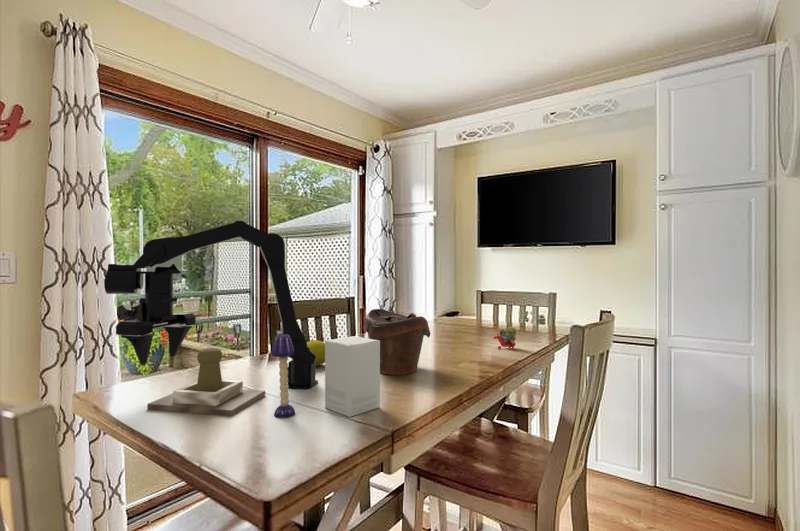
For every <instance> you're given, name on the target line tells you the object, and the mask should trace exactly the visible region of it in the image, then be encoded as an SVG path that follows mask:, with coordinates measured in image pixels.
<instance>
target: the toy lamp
mask: <svg viewBox="0 0 800 531" xmlns="http://www.w3.org/2000/svg"><path fill="white" fill-rule="evenodd" d="M271 348H272V349H271V352H270V353H271V356H272V357H276V358H278V361H279V364H278V368H279V371H278V372H279V383H280V385H279V390H280V393H279V397H280V401H279V403H280V405H279V406H277V407H276V409H275V410H274V417H276V418H280V419H281V418H283V419H284V418H290V417H292V416H294V415H295V414H296V409H295V407H294V406H293V405H291V404H290V400H289V396H290V393H289V386H288V377H287V376H288V370H287V368H288V360H289V357H288V356H290V355H293V354H294V348H293V345H292V341H291V338H290V336H289V335H288V334H281V335H277V334H276V335H275V337H274V340H273V345H272V347H271Z"/></svg>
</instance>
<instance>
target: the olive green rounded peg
mask: <svg viewBox="0 0 800 531" xmlns="http://www.w3.org/2000/svg"><path fill="white" fill-rule="evenodd" d="M196 357H197V362H198V363H199V369H198V375H197V376H198V377H197V381H198V382H197V381H196V382H197V389H196V391H204V392H216V391H218V390H220V389H222V388H223V385H222V380H223V378H222V371H221V364H220V363H221V361H222V358H223V352H222V350H221V349H219V348H217V347H207V348H203V349H201V350H198V353H197V356H196Z"/></svg>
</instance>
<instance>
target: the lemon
mask: <svg viewBox="0 0 800 531" xmlns="http://www.w3.org/2000/svg"><path fill="white" fill-rule="evenodd" d="M306 343H307V347H308V348H309V349H310V350H311V351H312V352H313V353H314V355H315V356H316V358H315V361H316V367H319V366H322V365H323V364H325V341H321V340H317V339H314V340H310V341H306Z"/></svg>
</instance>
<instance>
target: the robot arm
mask: <svg viewBox="0 0 800 531" xmlns="http://www.w3.org/2000/svg"><path fill="white" fill-rule="evenodd" d="M234 239H242V240H243V241H246V242H247V243H250V244H251V245H253V246H255V247H258V248H259V250H260V252H261V254H262V255H261V256H262V257H263V259H264V261H265V264H266V265H267V268H268V270H269V273H270V277H271V282H272V286H273V290H274V295H275V301H276V304H277V310H278V313H279V317H280V318H279V319H280V322H281V323H280V324H281V326H280V327H281V329H280V330H276V336H277V335H281V334H288V335H289V336H290V338H291V341H292V345H293V348H294V354H293V355H290V356H288V358H290V359H291V360H290V361H287V363H288V368H287V370H288V376H287V377H288V383H287V384H288V386H289V388H291V389H292V388H293V389H307V390H309V389H311V388H312V387H314V386H315V385H316V384H317V383H319V380H318V379H317V380H316V367H317V366H316V361H315V358H316V356H315V355H314V353H313V352H312V351H311V350H310V349H309V348H308V347H307V341H306V339H305V335H304V334H303V332H302V329H301V327H300V324H299V323H298V321H297V317H296V312H295V307H294V302H293V298H292V295H291V290H290V289H291V288H290V285H289V282H288V276H287V272H286V246H285V244H286V243H285V240H284V239H283V237H282V236H281V235H279V234H277V233H275V232H273V233H272V232H270V233H267V232H265V231H263V230H261V229H259V228H257V227H254V226H252V225H250V224H248V223H246V222H245V221H244V220H236V221H234V222H232V223H227V224H224V225H220V226H217V227H213V228H210V229H206V230H203V231H199V232H195V233H192V234H187V235H183V236H173V237H172V236H171V237H170V236H169V237H163V238H162V237H161V238H154V239H151V240H149V241H147V242H146V243H145V244H144V246H143V249H142V254H141V256H140V257H139V258H138V259H137V260H136V261H135V262H134V263H133V264H119V263H108V264H107V270H106V273H105V278H103V279H104V280H103V284H104V291H105V293H106V294H107V295H123V294H125V295H126V294H127V295H128V294H131V295H133V294H134V295H135V294H137V293H138V292H139V290H143V287H144V297H140V299H139V301H138V302H139V303H138V305H135V306H130V304H121V305H118V306H117V308H116V316H117V317H116V318H117V320H119V322H118V323H116V325H115V335H116V336H120V337H121V339H126V340H127V341H129V343H130V344H131V345H132V347H133V349H134V352H135V354H136V357H137V359H138V361H139V364H140V365H142V366H145V365H147V363H148V361H149V360H148V359H149V356H150V351H151V347H152V342H153V338H154V334H151V333H152V332H153V330H154V329H157V328H161V327H163V329H164V330H165V331H166V332H167V334H168V347H169V350H168V351H169V355H170V357H176V355H177V354H178V351H179V349H180V347H181V345H182V343H183V341H184V340H185V338H186V337H187V334H188V333H189V331H190V330H191V329H192V328H193V326H192V325H196V315H194V314H193V312H174V303H175V302H177V301H178V296H174V274H175V275H176V274H177V275H178V274H179V275H180V274H183V270H182V269H180V268H179V267H178V265H177V264H176V263H172V264H171V265H170V266H156V265H164V264H165V265H166V264H169V263H170V262H172V261H175V260H177V259H179V258H180V257H182V256H184V255H187V254H189V253H190V252H192V251H196V250H199V249H203V248H206V247H210V246H214V245H216V244H217V245H218V244H220V243H224V242H227V241H231V240H234ZM155 266H156V267H155ZM153 267H155V269H154V271H153V270H151V271H150V270H148V271H145V270H143V271H142V269H151V268H153ZM289 388H288V389H289Z"/></svg>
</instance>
